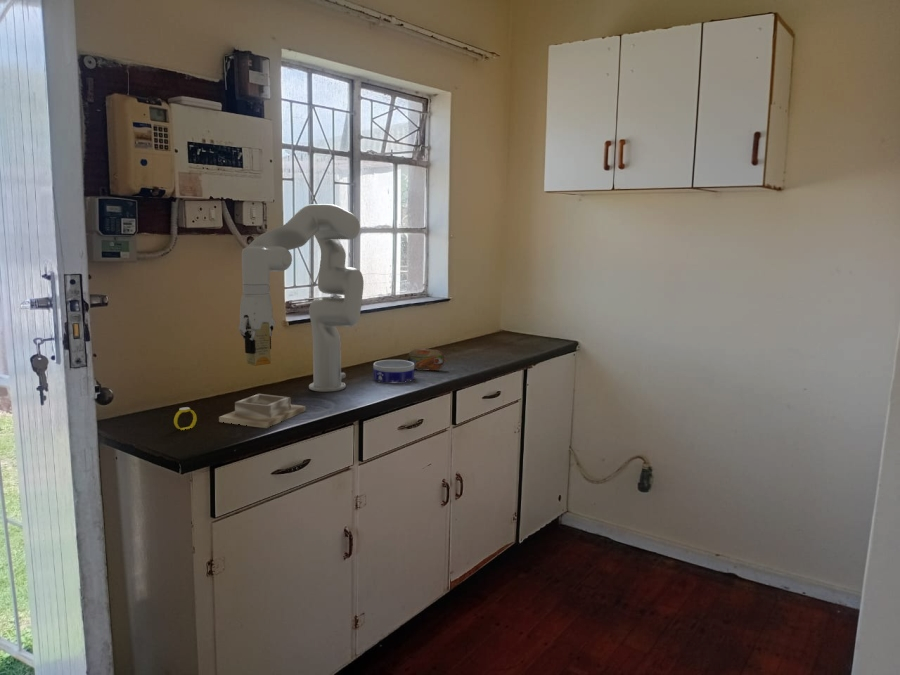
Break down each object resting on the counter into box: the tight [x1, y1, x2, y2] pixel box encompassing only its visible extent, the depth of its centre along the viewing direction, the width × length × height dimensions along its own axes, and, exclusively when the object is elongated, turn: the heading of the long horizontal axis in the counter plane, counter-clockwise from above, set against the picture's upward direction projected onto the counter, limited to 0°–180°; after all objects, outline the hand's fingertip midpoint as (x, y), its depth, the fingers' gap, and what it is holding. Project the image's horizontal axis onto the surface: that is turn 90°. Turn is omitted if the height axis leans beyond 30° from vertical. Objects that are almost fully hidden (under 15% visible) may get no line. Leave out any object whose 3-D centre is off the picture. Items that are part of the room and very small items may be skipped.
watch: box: [173, 406, 198, 431], centre depth 187 cm, size 6×3×6 cm, turn 139°
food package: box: [406, 348, 446, 371], centre depth 271 cm, size 15×3×8 cm, turn 76°
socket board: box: [218, 393, 306, 429], centre depth 201 cm, size 20×16×5 cm
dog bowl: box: [373, 359, 415, 383], centre depth 254 cm, size 15×15×6 cm
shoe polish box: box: [246, 323, 271, 366], centre depth 199 cm, size 5×5×12 cm
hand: (258, 350), depth 199 cm, fingers closed on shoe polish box, 6 cm apart
